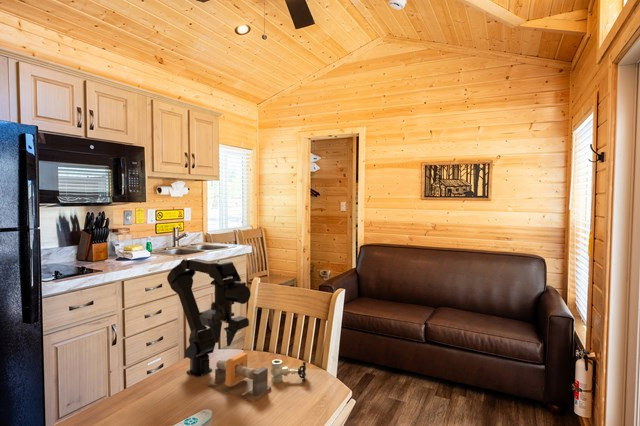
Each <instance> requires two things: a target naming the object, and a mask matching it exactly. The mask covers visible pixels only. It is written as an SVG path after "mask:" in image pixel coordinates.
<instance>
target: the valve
mask: <svg viewBox="0 0 640 426" xmlns="http://www.w3.org/2000/svg"><path fill="white" fill-rule="evenodd" d="M283 366H284V365H283V361H282V360H281V359H273V360H272V361H271V369H270V375H271V379H270V380H271V381H272V383H280V382H282V381H283V376H284V377H288V375H290V374H291V375H295V374H297V376H299V378H300V379H301V381H302V382H306V376H307V374H306V370H307V362H306V361H302V365H301V366H300V367H299V368H297V369H296V368H289V367H288V366H284V367H283Z"/></svg>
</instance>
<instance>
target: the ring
mask: <svg viewBox="0 0 640 426" xmlns="http://www.w3.org/2000/svg"><path fill="white" fill-rule="evenodd" d="M238 364H239V365H242V366H245V367H248V353H247V352H241V353H239V354H237V355H234V356H233V357H231V358H229V359H227V360H226V385H227V386H230V387H231V386H232V385H234V384H236V383H238V382H239V381H241V380H243V379H245V378H246V377H243V376H240V375H237V374H235V366H236V365H238ZM246 379H247V378H246Z"/></svg>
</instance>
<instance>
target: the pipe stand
mask: <svg viewBox="0 0 640 426" xmlns="http://www.w3.org/2000/svg"><path fill="white" fill-rule="evenodd" d="M226 361H227V360H226V359H222V358H220V359H218V360H217V361H216V363H215V365H216V367H215V369H214V371H215V372H214V378H213V379H211V380H209V381H207V383H206V386H208V387H210V388H214V389H215V390H219V391H222V392H225V393H227V394H230V395H232V396H234V397H235V396H236V397H237V398H240V399H243V400H246V401H248V402H252V403H254V402H256V401H257V400H259V399H260V398H262V397H263V396H264V395H266V394H268V393H269V392H271V391H272V386H269V385H268V382H269V381H268V376H269V374H268V370H269V369H268V367H266V366H261V367H260V368H258V369H255V368H253V367H252V368H251V367H248V366H247V367H245V366H242V365H239V364H238V365H236V366H235V374H237V375H240V376H243V377H246V378H245V379H243V380H241V381H239V382H238V383H236V384H234V385H232V386H231V387H230V386H227V385H226Z"/></svg>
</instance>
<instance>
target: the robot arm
mask: <svg viewBox="0 0 640 426" xmlns="http://www.w3.org/2000/svg"><path fill="white" fill-rule="evenodd" d="M196 272H198V273H203V274H207V275H208V276H209V278H210V279H212V281H210V285H211V286H214V301H213V302H211V304H210V308H209V309H207V310H203V311H200V309H199V307H198V303H197V300H196V298H195V295H194V293H193V289H192V288H193V285H194V279H193V277H194V276H195V275H196ZM240 276H241V275H240V274H239V272H238V270H237V268H236V266H235V264H234V262H232V261H231V260H228V261H227V260H226V261H216V262H215V261H211V260H205V259H201V258H197V257H187V258H186V257H185V258H184V259H182V260H181V261H180V262H179V264H177V265H176V266H174V267H173V268H172V269H171V270H170V271H169V273H168V274H167V276H166V279H167V283H168V285H169V286H170V288H171V290H172V291H173V292H175V294H177V296H178V298H179V301H180V303H181V307H182V308H183V309H182V310H183V313H184V314H185V318H186V319H185V320H186V321H187V324H188V328H189V330H190V334H189V338H188V342H189V346H188V347H187V348H186V349H185V350H184V355H185V358H187V359H189V370H186V374H189V375H192V376H193V377H196V378H197V377H198V378H199V377H201V376H202V377H203V376H204V375H206V374H208V373H210V372H212V370H213V368H210V354H213V353H214V352H215V351H214V350H215V347H216V344H217V343H220V342H219V341H220V338H221V332H222V327H223V323H225V324H228V325H227V326H226V327H224V328H223V329H224V331H225V332H226V344H227V347H230V346H231V345H232V342H233V340H234V339H235V336H236V335H237V332H238V331H240V330H242V329H245V328H247V327H249V326H250V320H249V317H245V316H241V315H238V316H236V317H235V312H233V305H235V303H236V304H241V305H244V304H247V303H248V302H249V300H250V298H251V290H250V288H249V287H248V286H247V282H245V281H242V279H241V277H240Z"/></svg>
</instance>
